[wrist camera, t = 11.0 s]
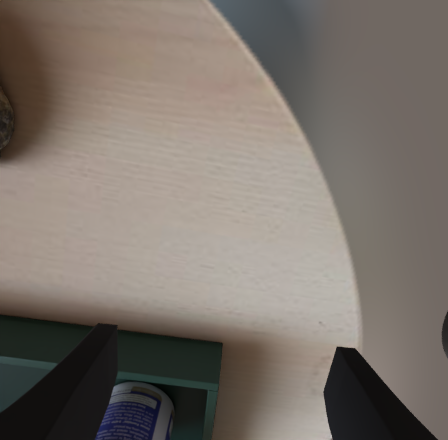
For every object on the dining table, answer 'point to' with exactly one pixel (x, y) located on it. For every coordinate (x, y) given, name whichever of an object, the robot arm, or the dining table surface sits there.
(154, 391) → the pill bottle
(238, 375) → the dining table surface
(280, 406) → the dining table surface
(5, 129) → the rock
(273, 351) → the dining table surface
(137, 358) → the long green tray
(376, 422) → the robot arm
